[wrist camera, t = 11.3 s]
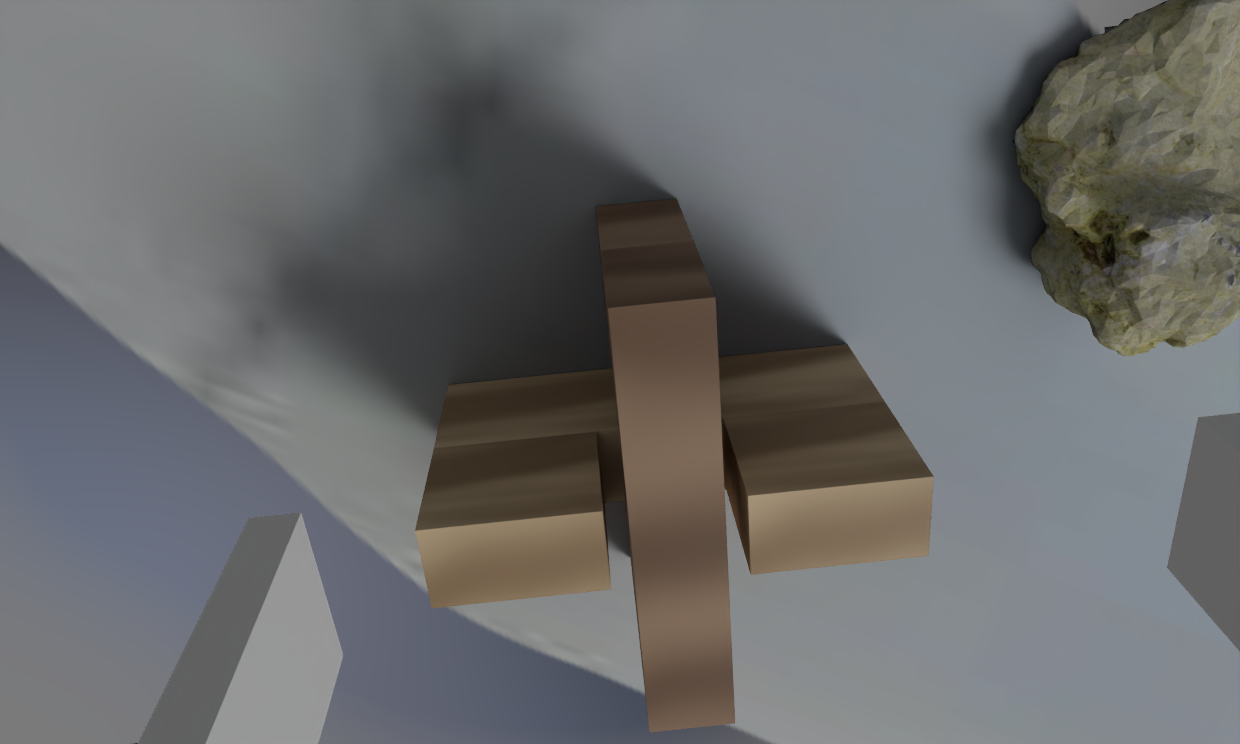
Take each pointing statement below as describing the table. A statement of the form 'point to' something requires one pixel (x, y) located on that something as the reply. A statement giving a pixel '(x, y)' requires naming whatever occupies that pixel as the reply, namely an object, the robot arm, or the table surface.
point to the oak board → (592, 475)
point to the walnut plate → (670, 459)
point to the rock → (1142, 176)
